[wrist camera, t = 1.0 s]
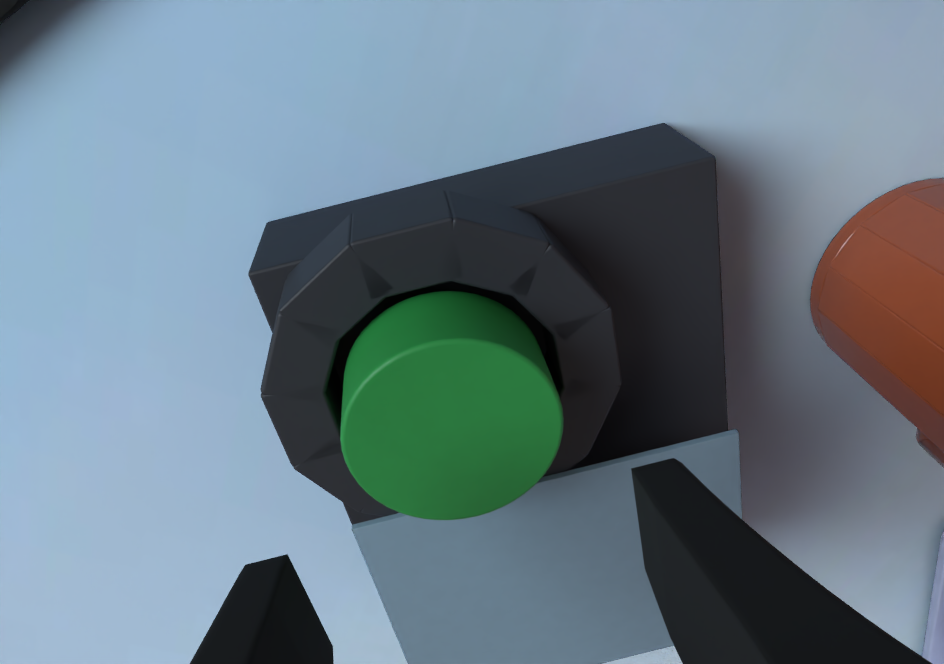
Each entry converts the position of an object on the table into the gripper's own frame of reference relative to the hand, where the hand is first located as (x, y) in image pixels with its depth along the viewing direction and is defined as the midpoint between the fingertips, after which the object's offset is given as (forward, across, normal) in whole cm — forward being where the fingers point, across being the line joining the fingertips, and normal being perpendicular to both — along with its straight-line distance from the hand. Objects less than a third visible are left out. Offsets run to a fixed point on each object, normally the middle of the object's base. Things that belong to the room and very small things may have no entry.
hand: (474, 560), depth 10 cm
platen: (+4, -2, +6) cm, 8 cm away
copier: (+9, -2, +4) cm, 10 cm away
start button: (+5, 0, 0) cm, 5 cm away
